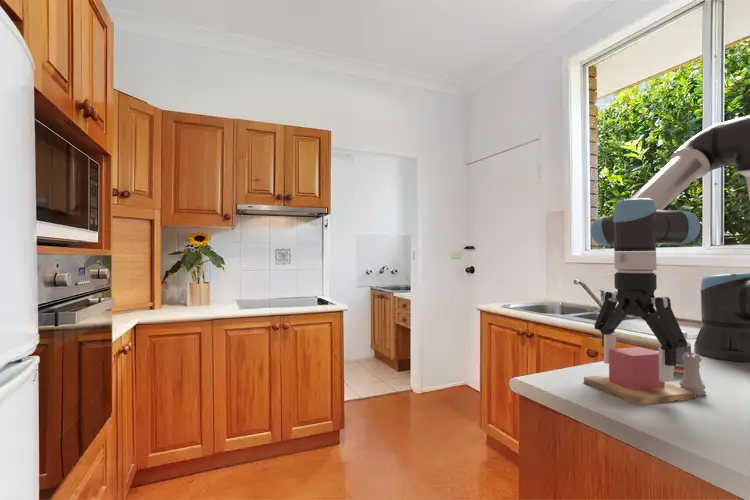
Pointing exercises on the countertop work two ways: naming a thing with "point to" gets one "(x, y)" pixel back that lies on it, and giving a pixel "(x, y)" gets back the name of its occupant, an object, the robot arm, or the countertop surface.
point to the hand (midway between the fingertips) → (636, 371)
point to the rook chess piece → (692, 374)
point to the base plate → (640, 391)
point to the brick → (634, 368)
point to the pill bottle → (679, 354)
